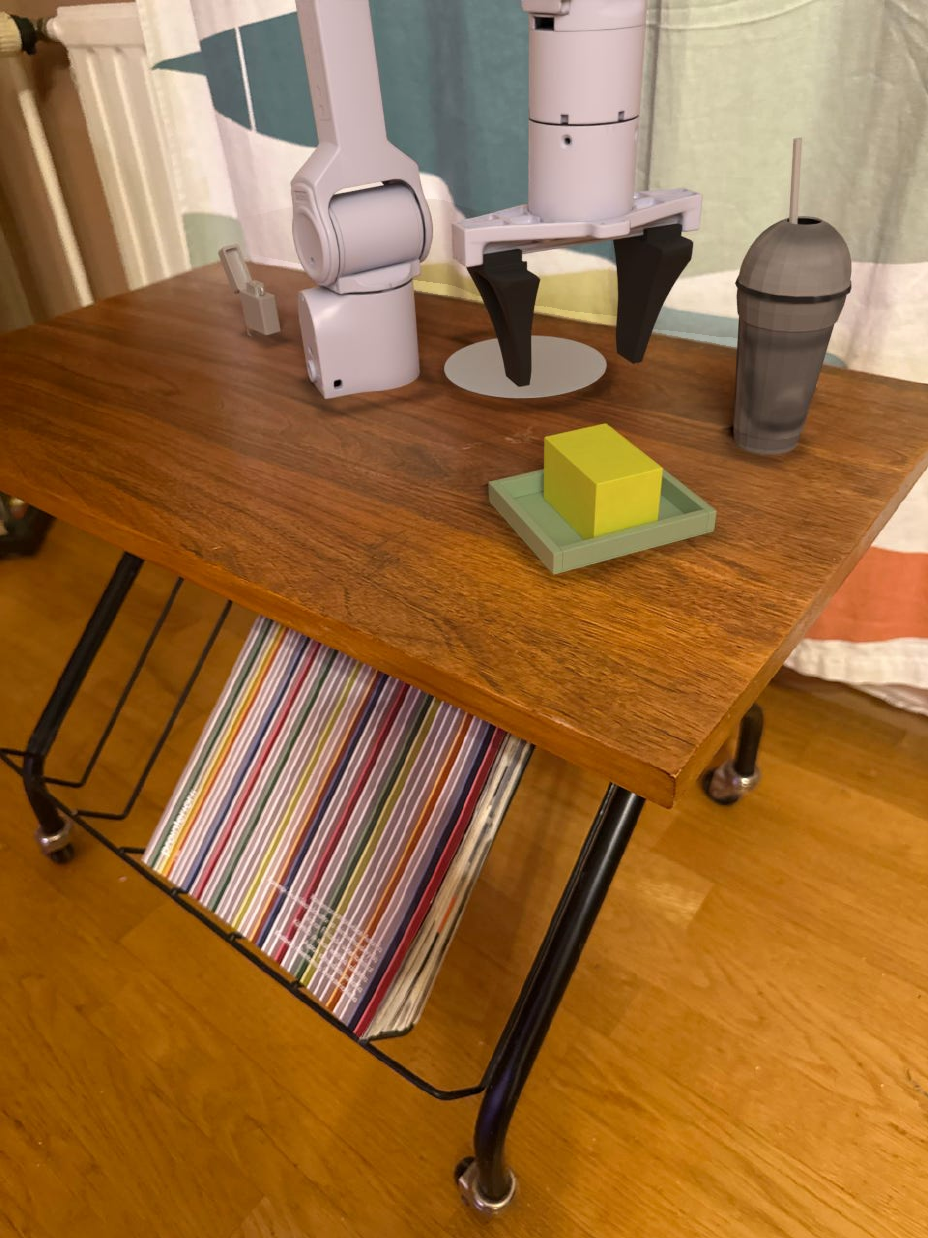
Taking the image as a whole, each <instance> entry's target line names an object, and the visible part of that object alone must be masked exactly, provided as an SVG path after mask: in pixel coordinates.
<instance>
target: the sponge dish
mask: <svg viewBox="0 0 928 1238" xmlns="http://www.w3.org/2000/svg"><path fill="white" fill-rule="evenodd" d="M488 502H489V503H490V505H492V506H493V507H494V509H495V510H496V511H497V512H498V513H499V514H500V516H501V517H502V518H503V520H505V521H506V522H507V524H509V527H511V528H512V530H514V532H515V533H516V534H517V535H518V536H519V537H520V538H521V540H522V541H523V542H524V543H525V544H526V545H527V547H528V548H529V549H530V550H531V551H532V552H533V553H534V555H535V556H536V557H537V558H538V559H539V560H540V561H541V563H542V564H543V565H544V566H545V567H546V568H547V569H548V571H550V573H551V574H552V575H559V574H561V573H565V572H568V571H571V570H575V569H580V568H583V567H586V566H590V565H594V564H598V563H601V562H602V563H603V562H605V561H609V560H613V559H616V558H620V557H625V556H628V555H630V554H635V553H638V552H642V551H646V550H649V549H653V548H657V547H660V546H664V545H668V544H671V543H675V542H678V541H683V540H686V539H690V538H694V537H696V536H700V535H705V534H708V533H712V532H715V527H716V520H717V513H718V510H717V509H715V508H714V507H713V506H711V505H710V504H709V503H708V502H707V501H705V500H704V499H703V498H701V497H700V496H699V495H698V494H696V493H695V492H693V490H691V488H689V487H687V486H686V485H685V484H683V482H682V481H679V480H678V479H677V478H676V477H675V476H674V475H672V474H671V473H669V471H667V470H666V469H664V468H663V474H662V484H661V494H660V504H659V514H658V521H656V522H652V523H648V524H644V525H641V526H637V527H633V528H629V529H625V530H622V531H618V532H614V533H610V534H606V535H603V536H599V537H595V538H591V539H587V540H584V539H583V538H582V537H581V536H580V535H579V534H578V532H577V531H576V530H575V529H574V528H573V527H572V526H571V525H570V524H569V523H568V522H567V521H566V520H565V519H564V518H563V517H562V516H561V515H560V514H559V513H558V512H557V511H556V510H555V509H554V508H553V507H552V506H551V505H550V504H549V503H548V502H547V501H546V500H545V499H544V468H541V469H538V470H533V471H529V472H525V473H520V474H517V475H512V476H507V477H504V478H499V479H493V480H490V481H488Z"/></svg>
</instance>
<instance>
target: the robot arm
mask: <svg viewBox="0 0 928 1238" xmlns="http://www.w3.org/2000/svg"><path fill="white" fill-rule="evenodd" d="M520 1H521V9H522V11H523V12H524V13H528V119H527V120H528V124H527V125H528V129H527V131H528V132H527V133H528V136H527V137H528V161H527V162H528V164H527V165H528V166H527V167H528V173H527V174H528V183H527V184H528V185H527V186H528V187H527V190H528V191H527V192H528V193H527V194H528V195H527V196H528V197H527V198H528V199H527V202H526V203H522V204H519V205H515V206H512V207H508V208H505V209H504V208H503V209H500V210H497V211H493V212H490V213H487V214H486V213H485V214H482V215H478V216H475V217H469V218H465V219H459V220H453V221H451V222H450V226H451V227H450V228H451V245H452V247H451V249H452V259H454V261H456V262H458V263H459V264H460V265H462V266H464V267H465V269H466V271H467V273H468V274H469V276H470V278H471V280H472V282H473V283H474V285H475V287H476V289H477V291H478V294H479V295H480V297H481V300H482V302H483V304H484V307H485V308H486V311H487V313H488V316H489V318H490V321H491V323H492V327H493V329H494V333H495V335H496V336H495V337H496V338H497V339H498V343H499V346H500V350H501V354H502V359H503V363H504V369H505V375H506V377H507V378H509V379H510V380H511V381H512V382H513V383H514V384H516V385H517V386H518V387H523V386H528V385H530V379H531V371H532V354H531V336H532V332H533V331H532V330H533V321H534V313H535V306H536V301H537V297H538V291H539V287H540V282H541V278H540V277H539V276H537V274H535V273H533V272H531V271H530V270H529V269H528V261H527V260H523V255H527V254H533V253H539V252H540V253H541V252H546V251H552V250H558V249H564V248H571V247H577V246H584V245H590V244H596V243H601V242H602V243H603V242H607V241H608V242H609V241H612V243H613V249H614V257H615V265H616V266H615V267H616V279H617V281H616V283H617V307H616V323H615V349H616V354H617V355H619V356H620V357H622V358H623V359H625V360H626V361H628V362H629V363H631V364H633V365H636V364H639V363H642V362H643V360H644V356H645V354H646V351H647V348H648V345H649V342H650V339H651V337H652V333H653V330H654V328H655V325H656V323H657V320H658V318H659V315H660V313H661V311H662V308H663V307H664V304H665V302H666V300H667V298H668V296H669V294H670V293H671V290H672V289H673V287H674V286H675V284H676V282H678V281H677V280H678V279H679V277H680V276H681V274H682V273H683V271H684V270H685V269H686V267H687V266H688V265H689V264H690V262H691V261H692V257H693V251H694V241H693V240H692V239H690V238H687V237H685V236H683V235H682V233H688V232H693V231H698V230H700V225H701V215H702V206H703V197H704V194H703V193H700V192H698V191H697V192H696V191H695V190H691V189H688V188H686V187H677V188H670V189H658V190H640V191H638V190H637V191H635V185H636V171H637V170H636V169H637V155H638V142H639V141H638V140H639V129H640V114H641V100H642V87H643V71H644V58H645V57H644V56H645V44H646V43H645V42H646V28H647V15H648V14H647V12H648V2H649V1H648V0H520ZM294 3H295V9H296V15H297V21H298V27H299V34H300V39H301V44H302V50H303V57H304V61H305V62H304V63H305V68H306V75H307V80H308V86H309V92H310V98H311V104H312V110H313V111H312V112H313V116H314V122H315V129H316V134H317V139H318V140H317V141H318V145H317V147H316V148H315V150H314V151H313V152H312V153H311V154H310V156H309V157H308V158H307V160H306V161H305V162H304V163H303V165H302V166H301V167H300V168H299V169H298V170H297V172H296V173H295V174H294V176H293V177H292V179H291V180H290V184H289V185H290V196H291V205H292V221H291V233H292V240H293V244H294V250H295V253H296V255H297V259H298V261H299V263H300V265H301V267H302V269H303V271H304V272H305V273H306V274H307V276H308V277H309V278H310V279H312V281H313V282H315V284H317V285H315V286H313V287H310V288H309V287H308V288H305V289H302V290H300V291H298V293H297V300H296V301H297V314H298V320H299V327H300V333H301V334H300V335H301V339H302V346H303V347H302V348H303V353H304V359H305V366H306V372H307V376H308V378H309V380H310V382H311V383H313V384H314V386H315V387H316V389H317V390H318V391H319V393H321V396H322V397H323V399H324V400H328V399H334V398H339V397H344V396H349V395H354V394H359V393H368V392H370V393H371V392H382V391H388V390H389V391H390V390H394V389H398V388H402V387H404V386H407V385H410V384H411V383H413V382H414V381H415V380H418V377H419V376H420V374H421V367H420V352H419V340H418V328H417V327H418V326H417V315H416V313H417V312H416V301H415V287H414V278H416V277H418V276H421V275H422V273H421V264H422V263H423V262H424V261H425V260H426V259H427V258H428V256H429V254H430V251H431V248H432V244H433V240H434V221H433V216H432V212H431V208H430V206H429V204H428V201H427V198H426V196H425V193H424V190H423V186H422V185H423V184H422V181H421V175H420V170H419V165H418V163H416V162H415V160H413V159H412V158H411V157H409V156H408V154H405V153H404V152H403V151H402V150H400V149H399V148H398V147H397V146H395V145H394V144H392V143H391V142H390V140H388V137H387V136H388V135H387V130H386V129H387V128H386V121H385V113H384V107H383V99H382V98H383V97H382V90H381V84H380V76H379V68H378V67H379V66H378V60H377V54H376V53H377V52H376V47H375V46H376V44H375V38H374V29H373V24H372V15H371V8H370V0H294ZM375 183H381V185H376V186H371V187H366V188H360V189H356V190H351V191H345V192H340V193H337V192H339V191H341V190H343V189H344V190H345V189H348V188H349V189H350V188H354V187H359V186H365V185H370V184H375ZM336 381H340V385H338V386H335V382H336Z"/></svg>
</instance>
